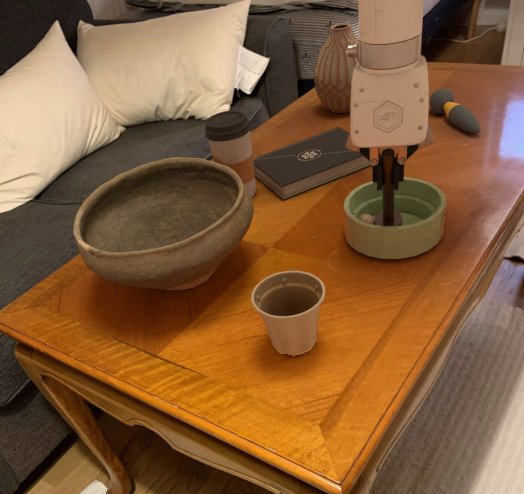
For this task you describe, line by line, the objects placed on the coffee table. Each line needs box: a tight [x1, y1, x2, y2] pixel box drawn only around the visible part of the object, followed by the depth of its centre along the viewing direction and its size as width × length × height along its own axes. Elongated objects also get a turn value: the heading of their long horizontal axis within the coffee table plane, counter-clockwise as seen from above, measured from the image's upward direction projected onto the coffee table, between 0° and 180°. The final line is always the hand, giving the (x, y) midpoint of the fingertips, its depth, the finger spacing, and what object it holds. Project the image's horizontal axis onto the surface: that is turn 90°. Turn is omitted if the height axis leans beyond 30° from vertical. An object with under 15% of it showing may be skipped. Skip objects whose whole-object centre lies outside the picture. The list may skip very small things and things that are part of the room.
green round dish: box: [343, 176, 447, 260], centre depth 84 cm, size 16×16×6 cm
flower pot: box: [250, 270, 326, 356], centre depth 69 cm, size 9×9×9 cm
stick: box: [375, 147, 402, 226], centre depth 79 cm, size 4×4×14 cm
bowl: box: [72, 156, 255, 291], centre depth 82 cm, size 28×28×14 cm
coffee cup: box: [204, 109, 257, 198], centre depth 98 cm, size 8×8×15 cm
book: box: [253, 126, 372, 201], centre depth 105 cm, size 22×15×3 cm
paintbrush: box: [429, 88, 481, 135], centre depth 110 cm, size 20×5×5 cm, turn 20°
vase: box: [313, 22, 359, 114], centre depth 119 cm, size 13×13×18 cm
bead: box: [358, 214, 375, 225], centre depth 86 cm, size 3×3×3 cm
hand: (388, 185), depth 78 cm, fingers closed on stick
